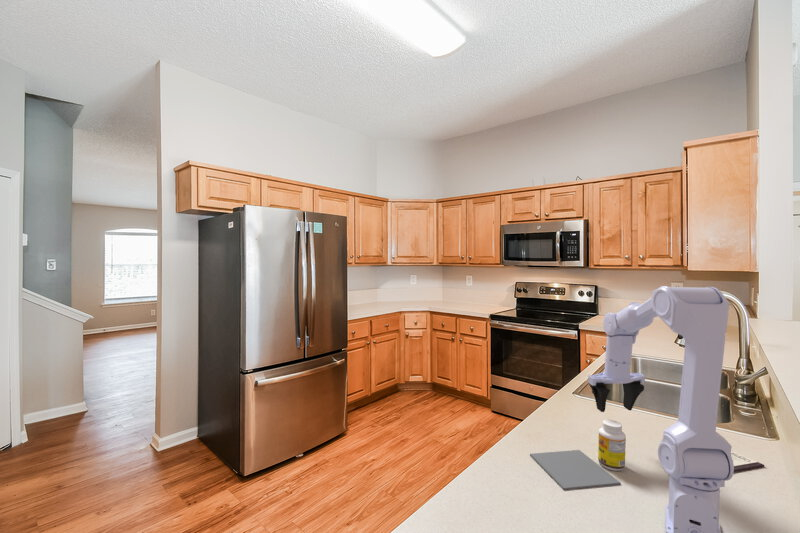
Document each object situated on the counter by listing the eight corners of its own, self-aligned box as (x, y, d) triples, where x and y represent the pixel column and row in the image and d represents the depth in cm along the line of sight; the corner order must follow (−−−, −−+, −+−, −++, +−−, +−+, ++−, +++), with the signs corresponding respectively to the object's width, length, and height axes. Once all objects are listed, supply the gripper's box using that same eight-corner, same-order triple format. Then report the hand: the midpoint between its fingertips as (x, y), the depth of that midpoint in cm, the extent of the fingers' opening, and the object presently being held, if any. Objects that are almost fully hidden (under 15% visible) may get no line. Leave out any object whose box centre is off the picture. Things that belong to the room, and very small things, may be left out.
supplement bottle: (596, 457, 92) (597, 416, 91) (622, 461, 90) (623, 420, 89) (600, 469, 86) (601, 425, 86) (627, 474, 84) (628, 430, 84)
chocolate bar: (669, 454, 92) (723, 446, 97) (669, 458, 92) (722, 449, 97) (707, 475, 84) (764, 465, 88) (707, 479, 84) (764, 468, 88)
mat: (579, 451, 94) (579, 449, 94) (620, 484, 80) (620, 482, 80) (529, 455, 92) (529, 453, 92) (563, 489, 78) (563, 488, 78)
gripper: (632, 352, 99) (628, 400, 101) (582, 354, 98) (578, 403, 99) (653, 362, 93) (648, 413, 94) (599, 365, 91) (595, 417, 92)
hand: (614, 409), depth 96 cm, fingers open, 7 cm apart
